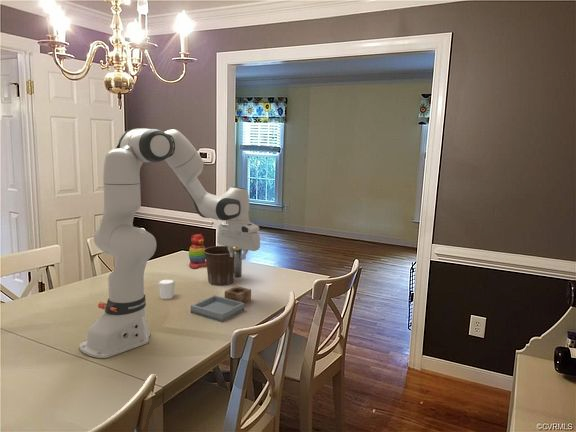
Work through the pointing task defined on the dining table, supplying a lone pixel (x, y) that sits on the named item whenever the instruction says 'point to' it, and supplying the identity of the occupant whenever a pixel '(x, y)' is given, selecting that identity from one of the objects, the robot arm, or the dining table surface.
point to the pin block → (238, 294)
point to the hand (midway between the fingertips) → (237, 258)
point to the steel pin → (237, 262)
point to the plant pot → (219, 265)
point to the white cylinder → (166, 288)
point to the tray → (217, 308)
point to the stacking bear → (197, 252)
